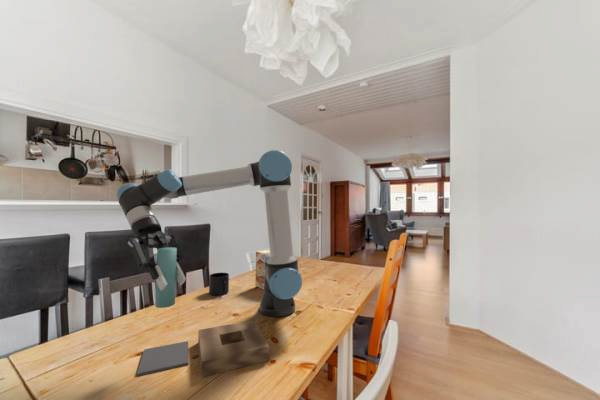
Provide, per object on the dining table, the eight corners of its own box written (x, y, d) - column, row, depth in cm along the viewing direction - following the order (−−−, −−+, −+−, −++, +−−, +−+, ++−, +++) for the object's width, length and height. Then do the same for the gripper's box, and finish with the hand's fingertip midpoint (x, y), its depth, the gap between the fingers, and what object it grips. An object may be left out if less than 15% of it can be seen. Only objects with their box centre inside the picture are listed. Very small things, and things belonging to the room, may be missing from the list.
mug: (217, 298, 119) (217, 279, 119) (205, 292, 127) (206, 274, 127) (234, 294, 125) (235, 276, 126) (222, 288, 134) (223, 271, 134)
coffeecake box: (254, 287, 137) (255, 251, 137) (264, 284, 142) (265, 249, 143) (274, 293, 127) (274, 254, 128) (283, 290, 133) (284, 253, 133)
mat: (188, 342, 80) (188, 341, 80) (188, 364, 69) (188, 362, 69) (144, 351, 75) (144, 349, 75) (136, 376, 64) (136, 373, 64)
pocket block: (253, 331, 88) (253, 320, 88) (269, 360, 71) (269, 346, 71) (198, 342, 80) (198, 329, 80) (201, 377, 64) (201, 361, 64)
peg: (175, 300, 76) (177, 247, 76) (174, 306, 71) (176, 249, 72) (156, 302, 74) (158, 247, 74) (154, 308, 69) (156, 250, 70)
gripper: (166, 229, 89) (195, 284, 80) (106, 233, 73) (134, 302, 64) (176, 215, 86) (206, 270, 77) (116, 216, 71) (146, 285, 62)
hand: (173, 284), depth 71 cm, fingers closed on peg, 5 cm apart
